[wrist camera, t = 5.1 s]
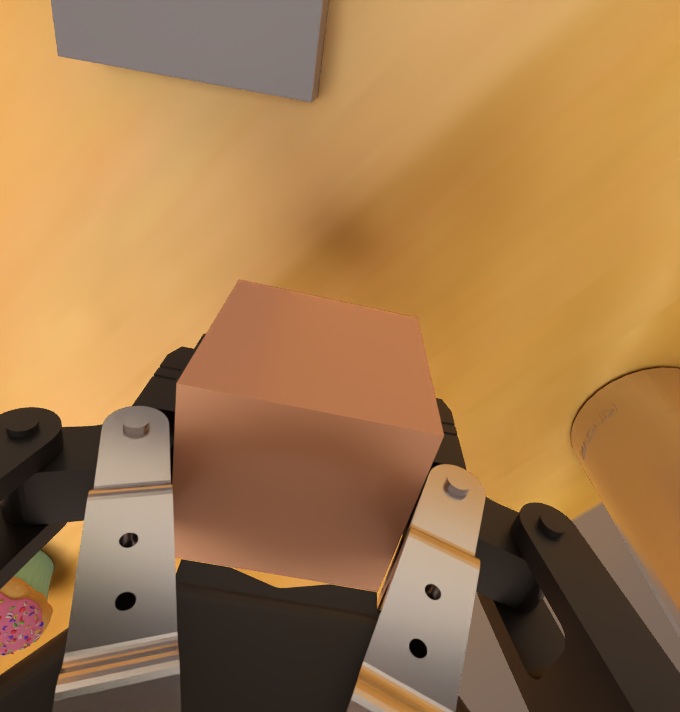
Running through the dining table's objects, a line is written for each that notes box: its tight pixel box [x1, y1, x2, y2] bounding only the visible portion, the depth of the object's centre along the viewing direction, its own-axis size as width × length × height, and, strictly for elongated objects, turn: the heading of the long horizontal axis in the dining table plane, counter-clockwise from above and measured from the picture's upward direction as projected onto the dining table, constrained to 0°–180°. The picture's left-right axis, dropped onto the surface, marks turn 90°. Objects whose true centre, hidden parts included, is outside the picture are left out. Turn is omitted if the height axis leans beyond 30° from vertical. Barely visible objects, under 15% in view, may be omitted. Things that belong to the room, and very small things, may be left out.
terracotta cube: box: [172, 280, 444, 592], centre depth 12 cm, size 5×5×5 cm
